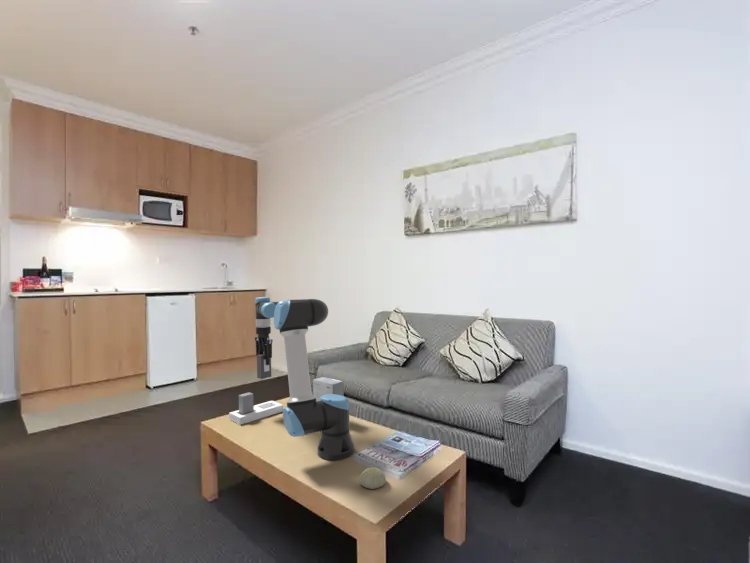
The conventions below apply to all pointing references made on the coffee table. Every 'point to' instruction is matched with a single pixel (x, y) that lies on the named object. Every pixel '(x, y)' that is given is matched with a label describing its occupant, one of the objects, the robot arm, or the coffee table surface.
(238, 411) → the socket strip
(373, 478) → the sea urchin shell
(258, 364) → the grey rectangular block
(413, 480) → the coffee table surface
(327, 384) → the hard drive box
